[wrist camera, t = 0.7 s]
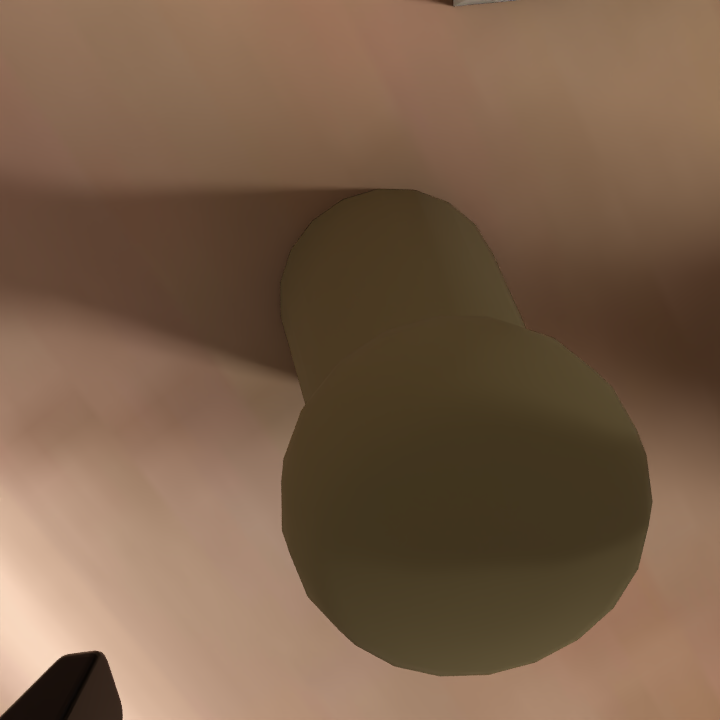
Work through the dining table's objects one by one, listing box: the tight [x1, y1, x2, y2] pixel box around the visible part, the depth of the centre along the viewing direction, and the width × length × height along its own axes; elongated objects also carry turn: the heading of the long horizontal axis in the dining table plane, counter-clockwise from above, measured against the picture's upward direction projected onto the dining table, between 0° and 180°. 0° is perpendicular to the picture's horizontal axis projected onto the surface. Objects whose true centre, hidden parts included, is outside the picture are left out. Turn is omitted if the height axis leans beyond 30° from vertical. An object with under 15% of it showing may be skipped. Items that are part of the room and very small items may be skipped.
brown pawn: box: [280, 189, 652, 676], centre depth 13 cm, size 6×6×11 cm
